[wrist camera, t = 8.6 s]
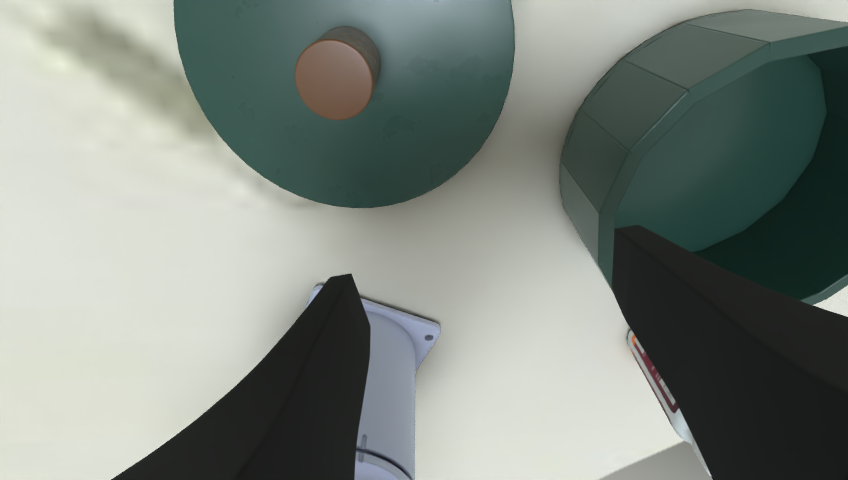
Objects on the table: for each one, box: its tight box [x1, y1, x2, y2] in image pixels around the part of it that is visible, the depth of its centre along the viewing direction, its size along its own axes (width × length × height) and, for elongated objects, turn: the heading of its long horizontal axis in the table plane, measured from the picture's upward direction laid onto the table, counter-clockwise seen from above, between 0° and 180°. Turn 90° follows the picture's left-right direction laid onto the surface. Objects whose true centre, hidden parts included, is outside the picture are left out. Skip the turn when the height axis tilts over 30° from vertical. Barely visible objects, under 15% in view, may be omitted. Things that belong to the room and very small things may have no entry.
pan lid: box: [174, 0, 515, 208], centre depth 16 cm, size 13×13×4 cm
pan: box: [559, 9, 848, 305], centre depth 18 cm, size 12×12×6 cm
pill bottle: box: [628, 330, 711, 476], centre depth 23 cm, size 5×5×8 cm
